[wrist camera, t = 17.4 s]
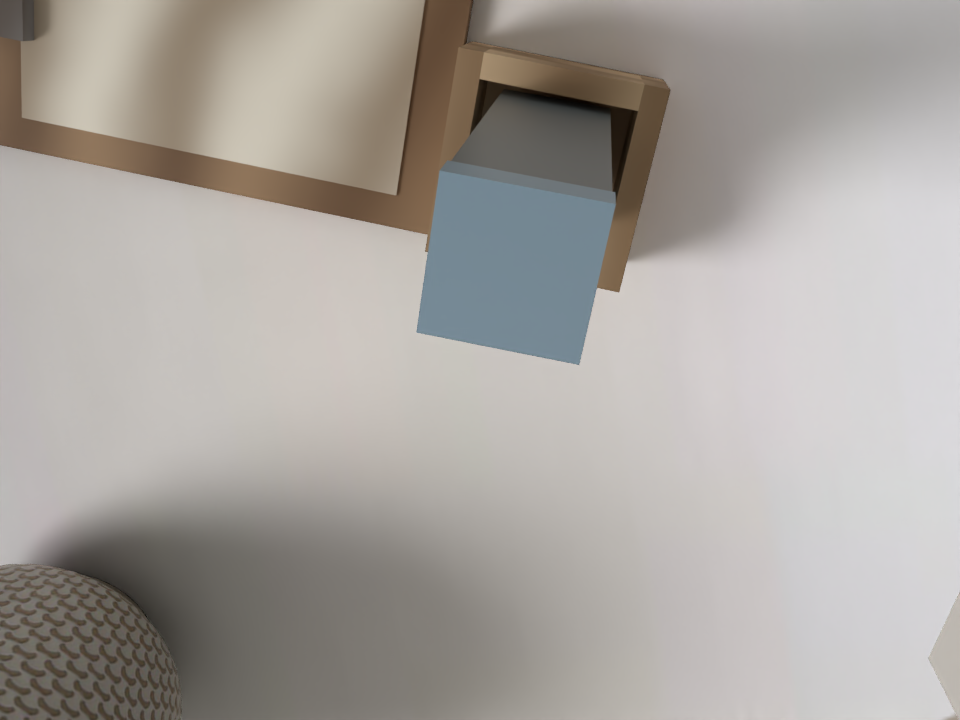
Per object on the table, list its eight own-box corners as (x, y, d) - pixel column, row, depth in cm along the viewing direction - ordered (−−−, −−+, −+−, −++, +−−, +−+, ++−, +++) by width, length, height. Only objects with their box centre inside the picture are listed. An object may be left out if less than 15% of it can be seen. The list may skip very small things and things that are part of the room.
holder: (440, 227, 34) (425, 251, 31) (472, 41, 31) (458, 47, 28) (616, 264, 34) (618, 292, 31) (663, 79, 31) (670, 89, 28)
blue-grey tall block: (490, 184, 33) (416, 332, 20) (507, 80, 31) (439, 170, 19) (589, 203, 33) (579, 364, 20) (611, 100, 31) (615, 204, 18)
